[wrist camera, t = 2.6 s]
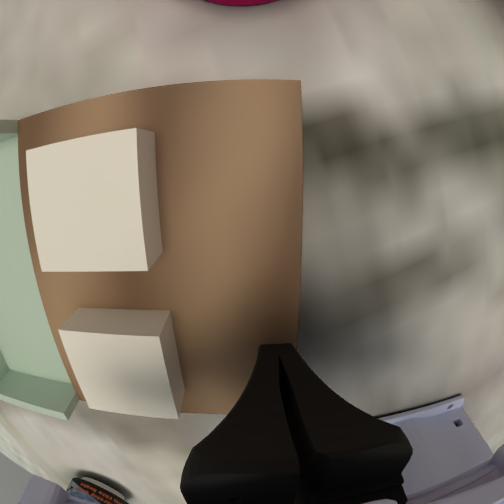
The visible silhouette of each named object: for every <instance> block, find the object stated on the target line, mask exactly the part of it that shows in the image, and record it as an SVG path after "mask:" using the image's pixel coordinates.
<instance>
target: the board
mask: <svg viewBox="0 0 504 504" xmlns="http://www.w3.org/2000/svg"><path fill="white" fill-rule="evenodd" d="M132 128H139V129H143V130H148V131H152V132H155V153H156V174H157V191H158V205H159V217H160V228H161V239H162V248H163V253H162V254H161V255H160V256H159V258H158V259H157V260H156V261H155V263H154V264H153V265H152V266H151V268H150V269H149V270H148V271H102V272H42V270H41V266H40V261H39V257H38V252H37V246H36V241H35V235H34V229H33V223H32V216H31V208H30V200H29V191H28V179H27V164H26V150H30V149H34V148H37V147H41V146H45V145H49V144H53V143H57V142H62V141H66V140H71V139H75V138H80V137H85V136H90V135H95V134H101V133H106V132H112V131H119V130H125V129H132ZM18 160H19V177H20V189H21V198H22V207H23V214H24V221H25V228H26V234H27V239H28V245H29V250H30V255H31V260H32V264H33V269H34V273H35V277H36V281H37V285H38V289H39V293H40V296H41V300H42V303H43V307H44V310H45V313H46V317H47V320H48V323H49V326H50V329H51V332H52V335H53V338H54V341H55V343H56V346H57V349H58V351H59V354H60V357H61V359H62V362H63V364H64V367H65V369H66V371H67V374H68V376H69V379H70V381H71V383H72V385H73V388H74V390H75V392H76V394H77V396H78V398H79V400H82V401H86V399H85V397H84V395H83V393H82V390H81V388H80V386H79V384H78V381H77V379H76V377H75V374H74V372H73V369H72V367H71V364H70V362H69V359H68V356H67V354H66V351H65V348H64V346H63V343H62V340H61V337H60V334H59V331H58V329H59V328H60V327H61V326H62V325H63V324H64V323H65V321H66V320H67V319H68V318H69V317H70V316H71V315H72V314H73V313H74V312H75V311H76V310H77V309H78V308H99V309H128V310H171V317H172V323H173V329H174V335H175V341H176V346H177V352H178V357H179V363H180V368H181V373H182V378H183V383H184V388H185V392H184V397H183V402H182V406H181V411H180V412H181V413H205V414H228V413H229V412H230V411H231V409H232V408H233V407H234V405H235V404H236V402H237V401H238V399H239V398H240V396H241V394H242V393H243V391H244V389H245V387H246V385H247V383H248V381H249V379H250V377H251V374H252V372H253V369H254V366H255V364H256V360H257V356H258V347H259V346H260V345H261V344H283V343H291V344H292V345H293V346H294V348H295V349H296V351H297V339H298V323H299V304H300V283H301V255H302V210H303V145H302V101H301V81H300V80H223V81H206V82H194V83H183V84H174V85H166V86H158V87H151V88H144V89H138V90H132V91H127V92H121V93H116V94H111V95H106V96H102V97H97V98H93V99H88V100H84V101H80V102H76V103H73V104H69V105H65V106H62V107H58V108H55V109H51V110H48V111H45V112H42V113H39V114H36V115H33V116H30V117H27V118H24V119H21V120H18Z"/></svg>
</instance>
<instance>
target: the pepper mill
mask: <svg viewBox="0 0 504 504" xmlns="http://www.w3.org/2000/svg"><path fill="white" fill-rule="evenodd" d="M207 1H210V2H214V3H219V4H225V5H255V4H262V3H267V2H271V1H275V0H207Z"/></svg>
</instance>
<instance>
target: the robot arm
mask: <svg viewBox="0 0 504 504" xmlns="http://www.w3.org/2000/svg"><path fill="white" fill-rule="evenodd" d="M464 401H465V398H464V397H463V396H462V395H461V396H457V397H454V398H451V399H448V400H445V401H442V402H439V403H436V404H432V405H429V406H426V407H422V408H418V409H415V410H411V411H407V412H403V413H399V414H395V415H391V416H386V417H382V418H375V417H373V416H371V415H369V414H367V413H365V412H363V411H361V410H360V409H358V408H356V407H355V406H353V405H352V404H350V403H348V402H347V401H345V400H344V399H343V398H341V397H340V396H339V395H337V394H336V393H335V392H334V391H332V390H331V389H330V388H329V387H328V386H327V385H326V384H325V383H324V382H323V381H322V380H321V379H320V378H319V377H318V376H317V375H316V374H315V373H314V372H313V371H312V370H311V368H310V367H309V366H308V365H307V364H306V363H305V361H304V360H303V359H302V357H301V356H300V355H299V353H298V352H297V351H296V349H295V348H294V346H293V345H292V344H291V343H283V344H261V345H260V346H259V347H258V356H257V360H256V364H255V366H254V369H253V372H252V374H251V377H250V379H249V381H248V383H247V385H246V387H245V389H244V391H243V393H242V394H241V396H240V398H239V399H238V401H237V402H236V404H235V405H234V407H233V408H232V409H231V411H230V412H229V413H228V415H227V416H226V417H225V418H224V419H223V421H222V422H221V423H220V424H219V425H218V426H217V427H216V428H215V429H214V430H213V431H212V432H211V433H210V434H209V435H208V436H207V437H205V438H204V439H203V440H202V441H201V442H199V443H198V444H197V445H196V446H194V447H193V448H192V450H191V452H190V454H189V456H188V459H187V461H186V463H185V466H184V469H183V472H182V478H181V484H180V489H181V493H182V495H183V497H184V499H185V501H186V503H187V504H504V444H503V445H502V446H501V447H500V448H499V449H498V450H497V451H496V452H495V453H494V454H493V452H492V451H491V449H490V448H489V446H488V445H487V443H486V442H485V440H484V439H483V437H482V436H481V434H480V433H479V431H478V430H477V428H476V427H475V425H474V424H473V422H472V421H471V420H470V418H469V417H468V415H467V414H466V412H465V411H464V410H463V408H462V405H463V403H464ZM18 504H95V503H92V502H88V501H85V500H82V499H79V498H76V497H73V496H70V495H68V493H67V492H66V491H65V490H64V489H63V488H62V487H61V486H59V485H58V484H56V483H54V482H51V481H49V480H46V479H44V478H41V477H39V476H36V475H34V474H33V475H31V477H30V479H29V481H28V483H27V485H26V488H25V490H24V492H23V494H22V496H21V498H20V501H19V503H18Z"/></svg>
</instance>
